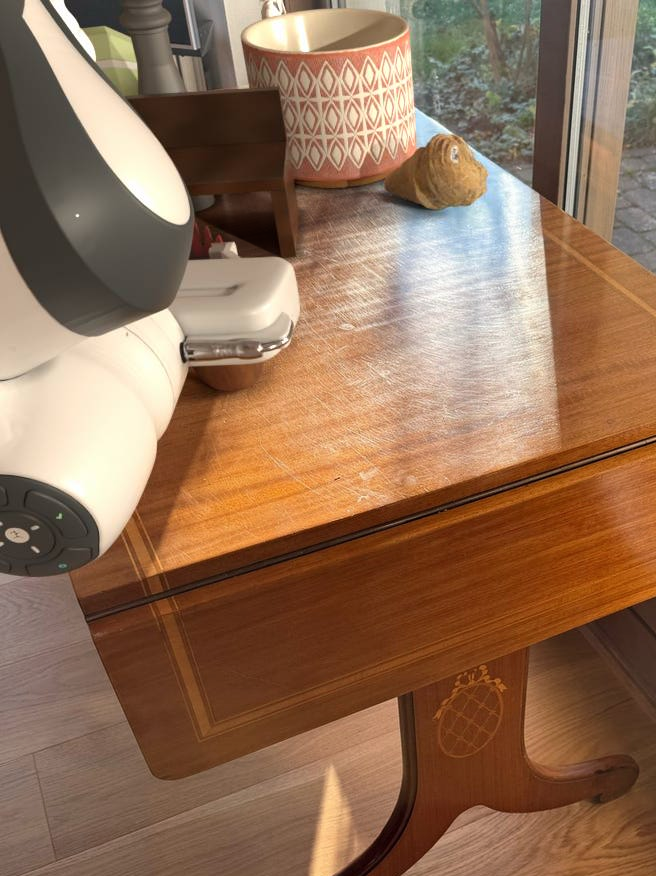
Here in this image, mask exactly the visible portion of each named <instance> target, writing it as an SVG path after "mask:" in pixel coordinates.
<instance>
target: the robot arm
mask: <svg viewBox="0 0 656 876" xmlns="http://www.w3.org/2000/svg"><path fill="white" fill-rule="evenodd" d="M194 219H195V212H194V208H193V204H192V200H191V197H190V195H189V192H188V190H187V187H186V185H185V183H184V181H183V179H182V177H181V175H180V173H179V171H178V169H177V168H176V166H175V164H174V163H173V161H172V159H171V158H170V156H169V155H168V153H167V152H166V150H165V149H164V147H163V146H162V144H161V143H160V142H159V140H158V139H157V137H156V136H155V135H154V133H153V132H152V131H151V129H150V128H149V127H148V125H147V124H146V123H145V122H144V120H143V119H142V118H141V117H140V115H139V114H138V113H137V112H136V110H135V109H134V108H133V107H132V106H131V104H130V103H129V102H128V101H127V99H126V98H125V97H124V96H123V95H122V94H121V92H120V91H119V90H118V89H117V88H116V86H115V85H114V84H113V83H112V82H111V80H110V79H109V78H108V77H107V76H106V74H105V73H104V72H103V71H102V70H101V68H100V67H99V66H98V65H97V64H96V62H95V61H94V60H93V59H92V58H91V56H90V55H89V54H88V53H87V51H86V50H85V49H84V48H83V46H82V45H81V44H80V42H79V41H78V40H77V38H76V37H75V36H74V34H73V33H72V31H71V30H70V29H69V27H68V26H67V24H66V23H65V22H64V20H63V19H62V17H61V16H60V15H59V13H58V12H57V10H56V9H55V8H54V6H53V5H52V3H51V2H50V0H0V573H1V574H4V575H10V576H16V577H23V578H24V577H25V578H45V577H52V576H53V577H54V576H59V575H64V574H67V573H70V572H73V571H77V570H79V569H81V568H83V567H86V566H87V565H90V564H91V563H93V562H95V561H96V560H98V559H99V558H100V557H102V556H103V555H104V554H105V553H106V552H107V551H108V549H110V547H111V546H112V545H113V544H114V543H115V542H116V540H117V539H118V538H119V537H120V535H121V533H123V530H124V528H125V527H126V525H127V524H128V523H129V521H130V519H131V518H132V515H133V514H134V512H135V510H136V508H137V506H138V504H139V502H140V500H141V498H142V496H143V494H144V492H145V490H146V489H145V488H146V486H147V483H148V481H149V479H150V476H151V474H152V471H153V469H154V465H155V462H156V457H157V449H158V442H159V440H160V439H161V438H162V436H164V433H165V432H166V430H167V429H168V427H169V424H170V422H171V421H172V417H173V414H174V411H175V409H176V407H177V404H178V401H179V397H180V395H181V392H182V390H183V387H184V384H185V382H186V379H187V376H188V373H189V367H192V366H215V365H240V364H253V363H259V362H263V361H264V362H266V361H268V360H271V359H272V358H274V357H276V355H278V354H279V353H280V352H281V351H282V350H284V349H286V348H287V347H288V346H289V345H290V344H291V341H292V338H293V337H292V336H293V333H294V330H295V327H296V326H297V323H298V321H299V318H300V314H301V302H300V294H299V287H298V282H297V277H296V272H295V268H294V266H293V264H291V263H290V262H289V261H288V260H286V259H285V258H283V257H281V256H262V257H261V256H260V257H241V256H239V254H238V249H237V244H236V243H235V241H223V242H220V243H215V242H214V243H212V244H211V246H212V247H210V249H209V257H210V259H207V260H188V259H189V255H190V250H191V245H192V239H193V230H194Z"/></svg>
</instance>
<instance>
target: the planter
mask: <svg viewBox="0 0 656 876" xmlns="http://www.w3.org/2000/svg"><path fill="white" fill-rule="evenodd" d="M410 35H411V33H410V25H409V23H408V21H407V20H406V19H405V18H403V17H402V16H399V15H397V14H394V13H391V12H386V11H383V10H377V9H376V10H375V9H368V8H367V9H366V8H351V7H347V8H346V7H342V8H341V7H339V8H338V7H337V8H335V7H334V8H333V7H332V8H317V9H306V10H298V11H293V12H286V14H284V13H281V15H277V16H273V17H269V18H266V19H263V20H262V19H261V20H258V21H255V22H253V23H251V24H249V25H248V26H246V27H245V28H244V29H243V30H242V31H241V33H240V42H241V47H242V54H243V59H244V65H245V70H246V77H247V82H248V88H262V87H278V86H279V87H280V93H281V99H282V106H283V112H284V119H285V125H286V132H287V139H288V145H289V152H290V158H291V165H292V171H293V178H294V184H297V185H301V186H305V187H312V188H321V189H340V188H341V189H342V188H350V187H351V188H352V187H357V186H364V185H368V184H373V183H375V182H378V181H382V180H385V179H386V178H387V177H388V175H389V174H391V173H392V172H393V171H394V170H395V169H396V168H398V167H400V166H401V165H402V163H403V162H404V161H405V160H407V159H408V158H410V157H411V156H412V155H413V154H414V152H415V151H416V150H417V149H418V140H417V125H416V124H417V123H416V110H415V96H414V95H415V94H414V80H413V79H414V78H413V66H412V50H411V49H412V48H411V36H410Z"/></svg>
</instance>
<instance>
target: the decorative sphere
mask: <svg viewBox="0 0 656 876" xmlns="http://www.w3.org/2000/svg"><path fill="white" fill-rule="evenodd" d="M81 29H82V30H83V32H84V33H85V34H86V36H87V37H88V38H89V40H90V41H91V43H92V45H93V48H94V51H95V55H96V64H97V65H98V66H99V67H100V68H101V70H102V71H103V72H104V73H105V74H106V76H107V77H108V78H109V79H110V80H111V82H112V83H113V84H114V85H115V86H116V88H117V89H118V90H119V91H120V92H121V94H122V95H123V96H124V97H125V96H130V95H138V74H137V61H136V57H135V53H134V49H133V45H132V41H131V37H130V35H126V34H124V33H122V32H119V31H118V30H115V29H113V28H111V27H108V26H107V25H101V26H91V27H83V28H82V27H81Z"/></svg>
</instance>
